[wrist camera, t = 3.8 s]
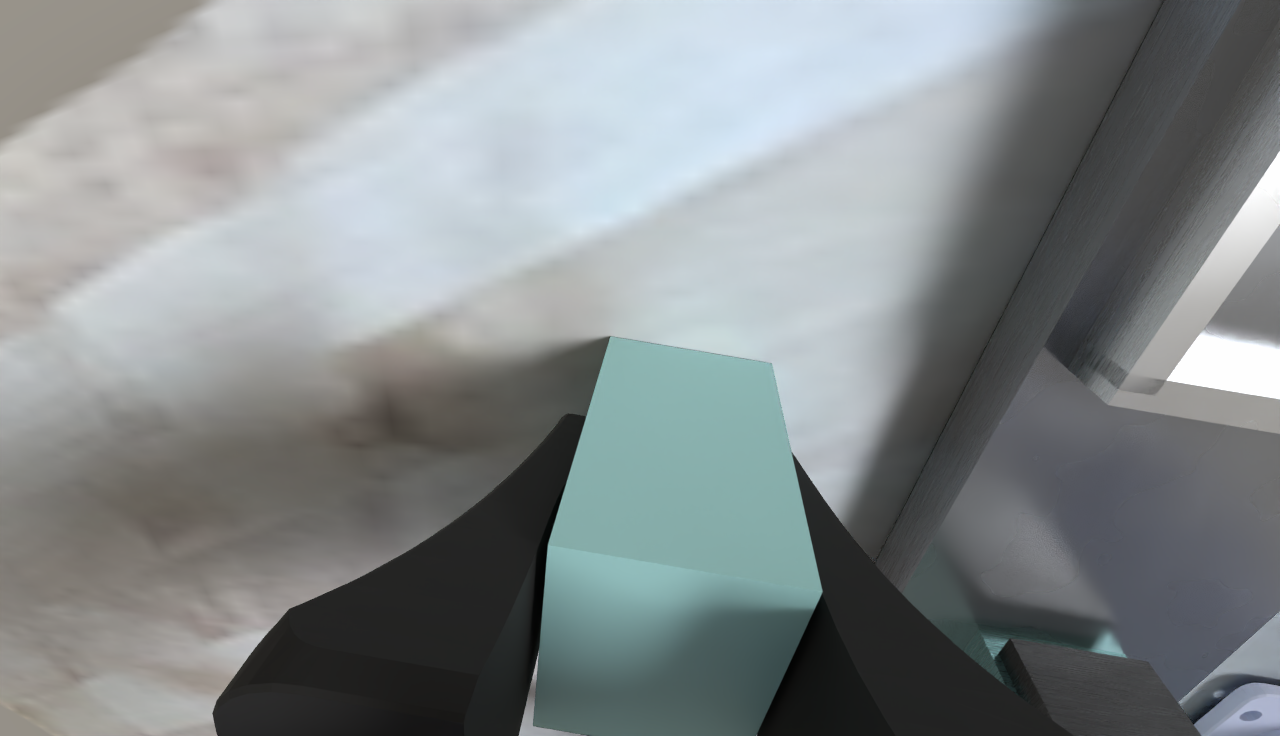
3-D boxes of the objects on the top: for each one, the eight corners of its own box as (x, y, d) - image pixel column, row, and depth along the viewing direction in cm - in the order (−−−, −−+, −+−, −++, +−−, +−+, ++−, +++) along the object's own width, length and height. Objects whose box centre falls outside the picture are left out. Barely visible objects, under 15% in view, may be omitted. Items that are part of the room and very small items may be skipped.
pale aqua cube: (610, 336, 13) (548, 545, 7) (771, 363, 13) (822, 591, 7) (589, 502, 15) (531, 743, 10) (723, 525, 15) (735, 779, 10)
